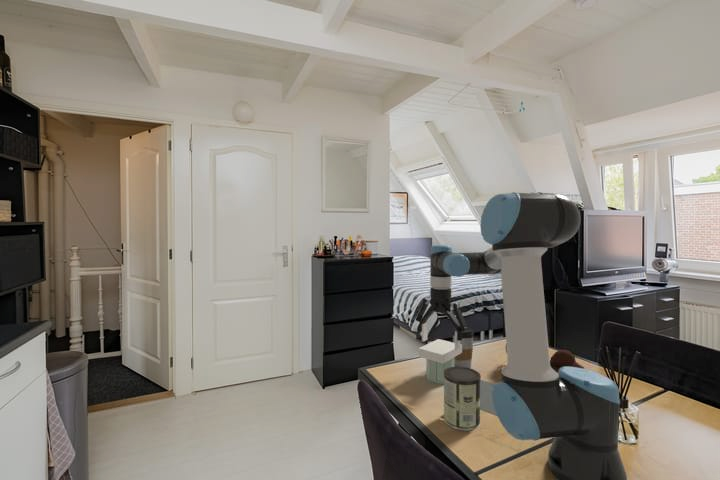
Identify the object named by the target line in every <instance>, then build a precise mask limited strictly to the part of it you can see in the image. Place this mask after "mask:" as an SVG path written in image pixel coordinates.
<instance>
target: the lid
mask: <svg viewBox="0 0 720 480" xmlns="http://www.w3.org/2000/svg"><path fill="white" fill-rule="evenodd" d="M461 353H462V345H461V344H460V348H459V349H458V350H455V343H453V341H452V342H451V341H448V340H444V339H439V338H437V339H435V340H434V341H431V342H429V343H427V344H424V345H422V346H420V347H418V357H420V358H423V359H426V360H427V359H429V360H433V361H436V362H439V363H445V362H447V361H449V360H450V359H452V358H454V357H455V356H457V355H459V354H461Z"/></svg>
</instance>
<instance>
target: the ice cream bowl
mask: <svg viewBox="0 0 720 480" xmlns="http://www.w3.org/2000/svg"><path fill="white" fill-rule="evenodd" d="M550 366H551V368H552V369H553V370H554V371H556V372H558V371H559V369H560V368H561V367H565V366H567V367H577V368H582V369H585V366H583V365H581V364H579V362H577V361H576V357H575V355H574V354H573V353H572V352H570V351H569V350H567V349H560V350H557V351H555V352H554V354H552V356H550Z"/></svg>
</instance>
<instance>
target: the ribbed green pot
mask: <svg viewBox="0 0 720 480" xmlns="http://www.w3.org/2000/svg"><path fill="white" fill-rule="evenodd" d="M425 363H426V380H427V379H428V381H430V382H433V383H435V384H441V385H442V384H443V385H444V370H445V369H447V368H450V367H455V357H454V358H452V359H450V360H449V361H447V362H445V363H439V362H436V361H433V360H429V359H426V362H425Z"/></svg>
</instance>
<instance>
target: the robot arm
mask: <svg viewBox="0 0 720 480" xmlns="http://www.w3.org/2000/svg"><path fill="white" fill-rule="evenodd" d="M581 221H582V220H581V212H580V209H579V208H578V206H577V205H576V204H575V202H573V200H571V199H570V198H568V197H567V196H565V195H562V194H558V193H531V192H530V193H529V192H528V193H527V192H514V191H513V192H510V193H508V192H507V193H499V194H495V195H493V197H491V198H490V199H489V200H488V201H487V203H486V204H485V206H484V209H483V210H482V213H481V216H480V234H481V236H482V239H483V240H484V242H485V243H487V244H489V245H492V246H491V247H490V248H488V249H486V250H485V251H483V252H482V251H481V252H480V251H479V252H453V250H452V246H451V245H446V244H445V245H443V244H442V245H441V244H440V245H439V244H436V245H432V246H431V247H430V254H429V257H430V265H429V266H430V268H429V269H430V275H429V277H430V280H429V281H430V282H429V285H430V289H429V290H430V291H429V292H430V294H429V295H430V298H429V297H425V298H423V299H422V305H421V306H420V308H419V311H418V312H417V316H416V317H415V321H416V322H419V327H420V329H419V330H420V332H421V342H426V341H427V340H428V322H427V321H428V320H429V318H430V317H432V315H433V314H434V313H437V314H438V313H440V314H444V315H445V316H446V317H447V318H448V319H449V321H450V323H451V324H452V326H453V327H454V328H456V330H457V331H455V350H458V349H459V348H460V341H461V340H462V339H463V331H465V330H467V329H468V328H469V327H468V324H467V322H466V320H465V317H464V315H463V313H462V310H461V306H460V305H461V304H460V302H458V301H457V302H452V288H451V287H452V277H454V278H455V277H456V278H457V277H458V278H460V277H463V276H467V275H468V276H470V275H474V276H475V275H497V274H499V275H501V288H502V289H501V290H502V302H503V305H502V306H503V315H504V329H505V341H506V342H505V346H506V345H507V353H506V354H507V355H506V357H507V364H506V365H505V366H504V367H503V368H502V369H501V373H500V374H501V381H498V382H496V383H494V384H495V385H494V388H493V390H492V399H493V404H494V408H495V411H496V414H497V416H496V417H497V418H498V420H499V421H500V424H501V425H502V427H503V428H504V429H505V431H506V432H507V433H508V434H509V435H510V436H511V437H513V438H514V439H516V440H520V441H539V440H542V439H543V440H544V439H552V438H554V439H553V441H552V443H551V446H550V448H549V449H548V454H547V464H548V467H549V469H550V471H551V472H552V474H553V475H554V476H555V477H556V478H557V479H558V480H628V477H627V472H626V469H625V467H624V466H625V465H624V463H623V461H622V457H621V454H620V452H619V451H620V450H619V446H618V445H619V429H620V428H619V425H620V422H619V421H620V406H621V401H620V390H619V387H618V385H617V383H615V381H614V380H612V379H610V378H609V377H607V376H606V375H603V374H600V373H598V372H595V371H593V370H590V369H585V368H584V369H582V368H577V367H567V366H565V367H561V368H560V369H559V371H558V372H556V371H554V370H553V369H552V368H551V366H550V360H551V357H550V351H549V350H550V349H549V348H550V347H549V338H548V337H549V336H548V326H547V325H548V324H547V315H546V314H547V313H546V303H545V302H546V301H545V293H544V289H545V288H544V282H543V268H542V256H543V255H544V254H545V253H546V252H547V251H548V248H554V247H558V246H559V245H561V244H563V243H566V242H567V241H569V240H570V239H572V238H573V237H574V236H575V235H576V233H578V230H579V229H580V225H581ZM429 304H430V306H431V307H430V308H429V309H428V311H426V310H427V308H428V306H429ZM452 309H453V310H452ZM425 312H426V313H425Z"/></svg>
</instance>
